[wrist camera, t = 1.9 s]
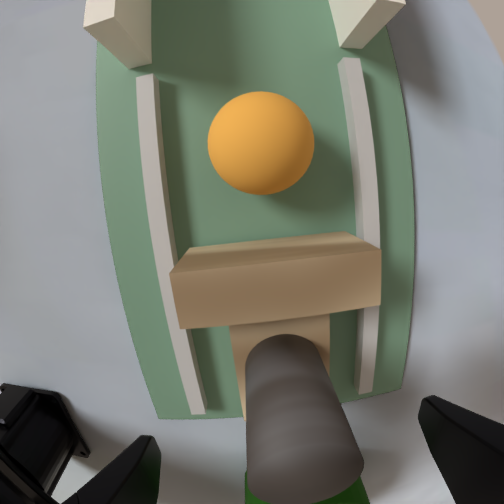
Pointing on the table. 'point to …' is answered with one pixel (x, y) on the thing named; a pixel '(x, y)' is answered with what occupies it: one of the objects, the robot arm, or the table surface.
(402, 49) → the table surface
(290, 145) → the ball
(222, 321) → the kicker
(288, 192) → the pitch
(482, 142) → the table surface
